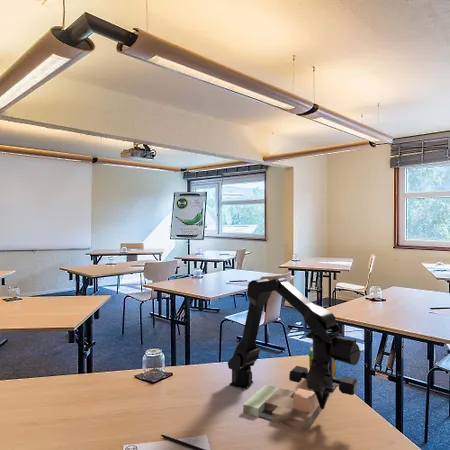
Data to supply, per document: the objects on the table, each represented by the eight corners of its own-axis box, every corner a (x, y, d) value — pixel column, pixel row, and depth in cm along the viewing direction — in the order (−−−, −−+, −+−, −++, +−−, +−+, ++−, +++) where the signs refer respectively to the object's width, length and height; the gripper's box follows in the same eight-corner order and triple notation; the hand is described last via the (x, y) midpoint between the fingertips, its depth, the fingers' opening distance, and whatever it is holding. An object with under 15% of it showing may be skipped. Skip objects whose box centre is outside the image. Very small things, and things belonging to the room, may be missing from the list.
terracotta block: (293, 408, 108) (293, 394, 108) (299, 401, 112) (299, 388, 112) (309, 412, 105) (309, 398, 105) (315, 405, 109) (314, 392, 109)
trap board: (243, 412, 110) (243, 404, 110) (265, 391, 124) (265, 384, 124) (306, 431, 100) (306, 422, 100) (323, 406, 114) (323, 398, 114)
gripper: (282, 358, 104) (282, 412, 104) (349, 371, 94) (349, 431, 94) (295, 346, 113) (295, 396, 113) (357, 358, 103) (358, 412, 103)
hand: (322, 408), depth 106 cm, fingers closed
